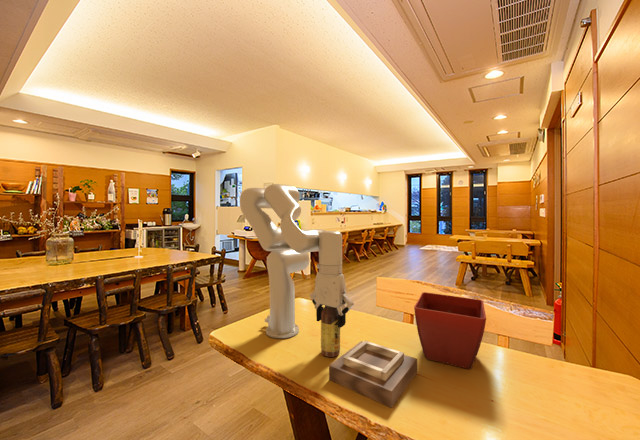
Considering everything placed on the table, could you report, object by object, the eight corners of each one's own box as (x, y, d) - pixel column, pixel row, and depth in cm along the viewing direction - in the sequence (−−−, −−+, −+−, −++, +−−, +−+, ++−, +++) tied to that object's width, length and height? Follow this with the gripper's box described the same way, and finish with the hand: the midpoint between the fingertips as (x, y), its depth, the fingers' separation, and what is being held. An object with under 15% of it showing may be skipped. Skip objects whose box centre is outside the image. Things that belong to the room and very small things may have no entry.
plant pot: (482, 349, 93) (483, 299, 92) (485, 379, 76) (486, 318, 76) (422, 337, 102) (422, 291, 101) (412, 361, 85) (413, 307, 85)
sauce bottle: (338, 359, 87) (338, 296, 86) (319, 357, 88) (319, 294, 87) (341, 349, 93) (341, 290, 92) (323, 347, 94) (322, 289, 94)
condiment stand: (329, 379, 76) (329, 358, 76) (361, 353, 90) (361, 334, 90) (391, 408, 65) (391, 382, 65) (417, 372, 79) (417, 351, 79)
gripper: (302, 267, 92) (302, 320, 92) (347, 275, 81) (347, 334, 82) (316, 264, 98) (316, 313, 98) (360, 270, 87) (359, 326, 88)
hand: (330, 322), depth 90 cm, fingers open, 7 cm apart
